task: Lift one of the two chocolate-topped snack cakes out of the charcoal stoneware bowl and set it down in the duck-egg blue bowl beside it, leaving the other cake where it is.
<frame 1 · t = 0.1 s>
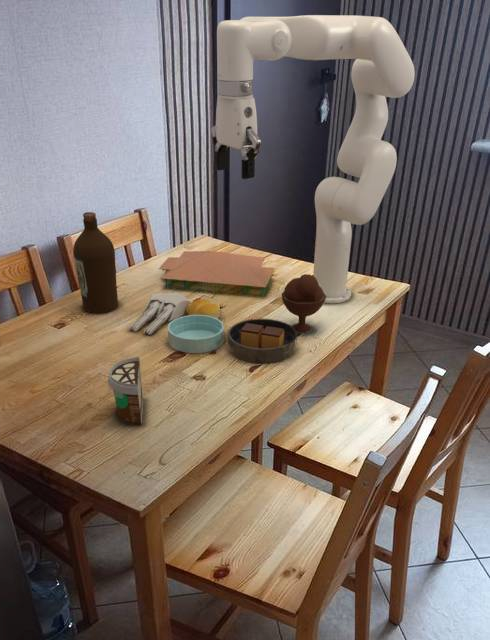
hand: (235, 173, 152), 37 cm above the table, tool pointing down, fingers open, 9 cm apart
charcoal bowl: (262, 349, 163), on the table
bread roll: (204, 316, 178), on the table
ice cream bowl: (301, 330, 171), on the table
olive oil: (100, 307, 183), on the table
food container: (127, 413, 139), on the table
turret: (160, 320, 176), on the table
snack cake: (252, 345, 163), resting on charcoal bowl
blue bowl: (196, 342, 166), on the table
house: (218, 279, 200), on the table
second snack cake: (272, 348, 162), resting on charcoal bowl
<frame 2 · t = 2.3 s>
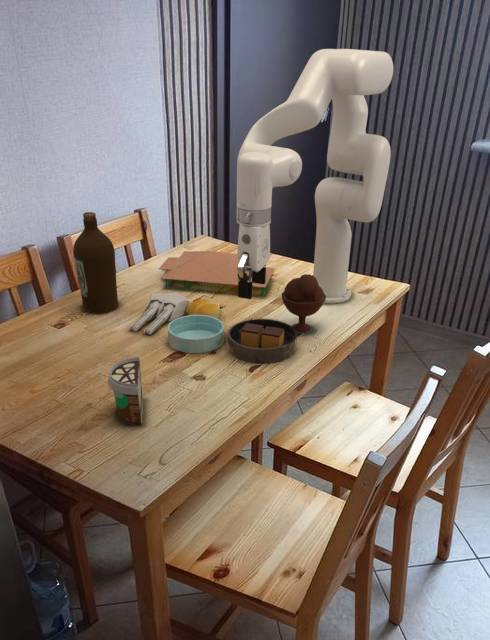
hand: (252, 290, 154), 15 cm above the table, tool pointing down, fingers open, 9 cm apart
nothing on the table moved.
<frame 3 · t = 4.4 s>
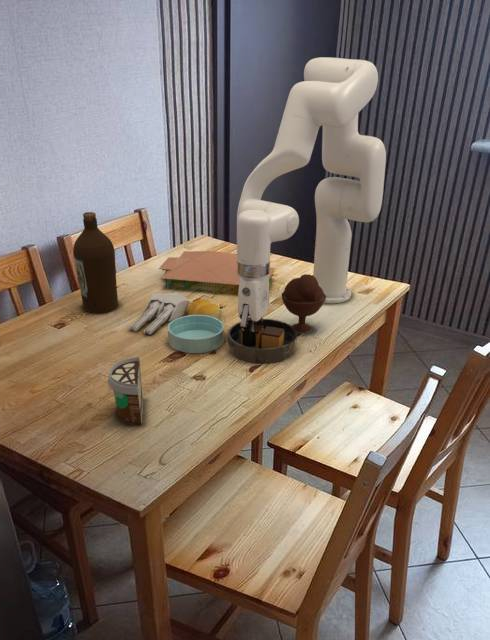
hand: (252, 340, 162), 2 cm above the table, tool pointing down, fingers closed on snack cake, 4 cm apart
snack cake: (252, 345, 163), point 1 cm above the table, touching charcoal bowl, gripper
everything else where it was.
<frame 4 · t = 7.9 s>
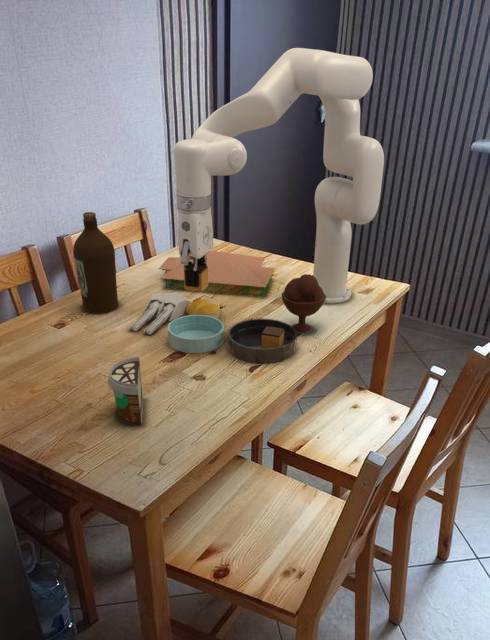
hand: (196, 281, 156), 16 cm above the table, tool pointing down, fingers closed on snack cake, 4 cm apart
snack cake: (196, 287, 157), point 14 cm above the table, touching gripper
everything else where it was.
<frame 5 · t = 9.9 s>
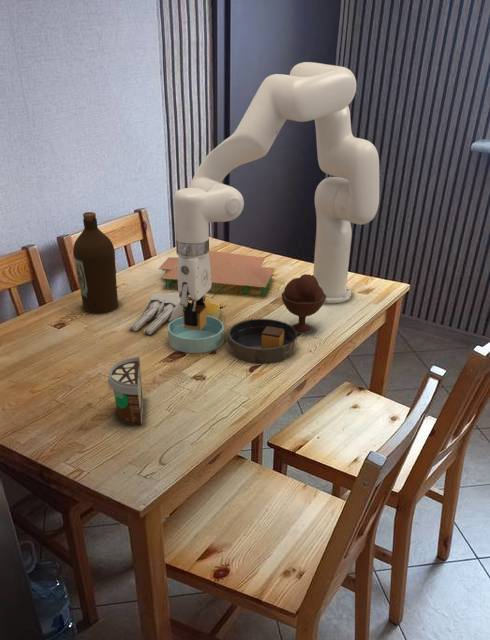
hand: (195, 320, 162), 6 cm above the table, tool pointing down, fingers closed on snack cake, 4 cm apart
snack cake: (195, 325, 163), point 4 cm above the table, touching gripper
everything else where it was.
when the fingers open (2 cm above the table, at t = 11.3 s): snack cake stays where it is, resting on blue bowl.
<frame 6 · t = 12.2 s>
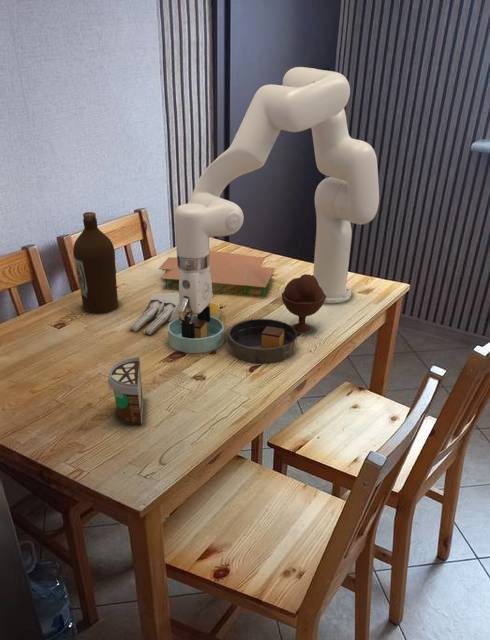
hand: (196, 328, 164), 4 cm above the table, tool pointing down, fingers open, 9 cm apart
snack cake: (196, 340, 165), resting on blue bowl
everything else where it was.
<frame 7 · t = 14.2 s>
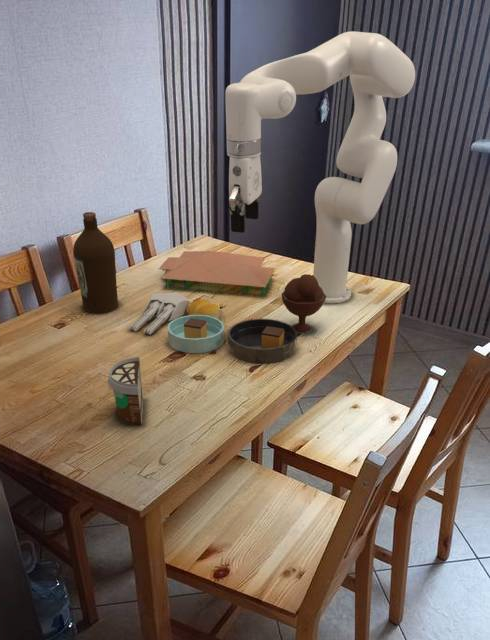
hand: (245, 224, 157), 26 cm above the table, tool pointing down, fingers open, 9 cm apart
nothing on the table moved.
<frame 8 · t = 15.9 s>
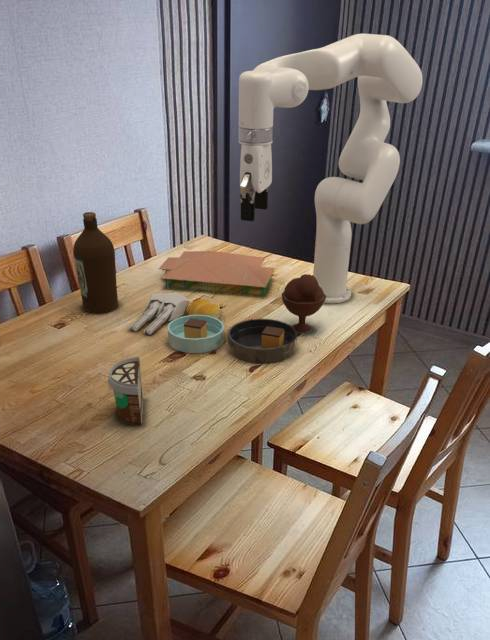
hand: (254, 214, 157), 28 cm above the table, tool pointing down, fingers open, 9 cm apart
nothing on the table moved.
at the end: snack cake inside the target area in the blue bowl (0.1 cm from its centre), point 0.5 cm above the blue bowl's base; snack cake tilted 0°; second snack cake inside the target area in the charcoal bowl (2.6 cm from its centre), point 0.5 cm above the charcoal bowl's base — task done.
